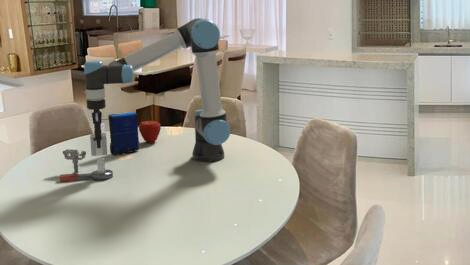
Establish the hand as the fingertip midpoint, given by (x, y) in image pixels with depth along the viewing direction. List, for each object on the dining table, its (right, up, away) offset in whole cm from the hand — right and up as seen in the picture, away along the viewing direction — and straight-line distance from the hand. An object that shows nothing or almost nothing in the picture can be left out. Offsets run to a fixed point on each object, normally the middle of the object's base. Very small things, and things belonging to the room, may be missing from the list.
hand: (99, 152), depth 237 cm
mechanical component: (-13, -9, +10) cm, 18 cm away
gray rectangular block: (0, 0, 0) cm, 0 cm away
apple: (+13, +3, +57) cm, 59 cm away
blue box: (+3, -2, +39) cm, 39 cm away
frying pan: (-6, -11, +1) cm, 12 cm away
